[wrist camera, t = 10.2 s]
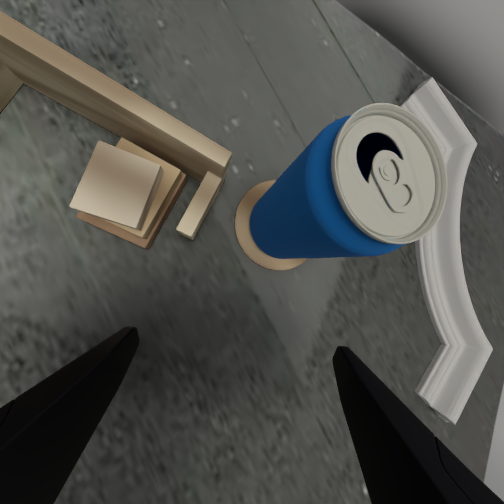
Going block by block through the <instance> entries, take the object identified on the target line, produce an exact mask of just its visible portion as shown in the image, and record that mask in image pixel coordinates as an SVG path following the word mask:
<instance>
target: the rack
mask: <svg viewBox="0 0 504 504" xmlns="http://www.w3.org/2000/svg"><path fill="white" fill-rule="evenodd" d="M23 83H24V84H26V85H27V86H29V87H31V88H33V89H35V90H36V91H38V92H40V93H42V94H44V95H45V96H47V97H49V98H51V99H53V100H54V101H56V102H58V103H60V104H62V105H63V106H65V107H67V108H69V109H70V110H72V111H74V112H76V113H78V114H79V115H81V116H83V117H85V118H87V119H88V120H90V121H92V122H94V123H96V124H97V125H99V126H101V127H103V128H105V129H106V130H108V131H110V132H112V133H114V134H115V135H117V136H119V137H121V138H124V139H126V140H128V141H130V142H131V143H133V144H135V145H137V146H138V147H140V148H142V149H144V150H146V151H147V152H149V153H151V154H153V155H155V156H156V157H158V158H160V159H162V160H164V161H165V162H167V163H169V164H171V165H173V166H174V167H176V168H178V169H180V170H181V171H182V172H184V173H185V174H187V175H189V176H191V177H193V178H194V179H196V180H198V181H200V182H202V183H201V185H200V186H199V188H198V190H197V192H196V194H195V196H194V197H193V199H192V201H191V203H190V205H189V207H188V208H187V210H186V212H185V214H184V216H183V217H182V219H181V221H180V223H179V225H178V227H177V228H176V230H177V231H178V232H179V234H180V235H182V236H184V237H186V238H188V239H190V240H192V241H193V240H194V238H195V236H196V234H197V232H198V231H199V229H200V227H201V225H202V223H203V221H204V219H205V217H206V215H207V213H208V212H209V210H210V208H211V206H212V204H213V202H214V200H215V198H216V196H217V194H218V193H219V191H220V189H221V187H222V185H223V183H224V181H225V177H226V173H227V170H228V166H229V162H230V159H231V155H232V153H231V152H230V151H228V150H226V149H225V148H223V147H222V146H220V145H218V144H217V143H215V142H213V141H212V140H210V139H208V138H207V137H205V136H204V135H202V134H200V133H199V132H197V131H195V130H194V129H192V128H191V127H189V126H187V125H186V124H184V123H182V122H181V121H179V120H177V119H176V118H174V117H173V116H171V115H169V114H168V113H166V112H164V111H163V110H161V109H159V108H158V107H156V106H155V105H153V104H151V103H150V102H148V101H146V100H145V99H143V98H141V97H140V96H138V95H137V94H135V93H133V92H132V91H130V90H128V89H127V88H125V87H123V86H122V85H120V84H119V83H117V82H115V81H114V80H112V79H110V78H109V77H107V76H105V75H104V74H102V73H101V72H99V71H97V70H96V69H94V68H92V67H91V66H89V65H87V64H86V63H84V62H83V61H81V60H79V59H78V58H76V57H74V56H73V55H71V54H69V53H68V52H66V51H65V50H63V49H61V48H60V47H58V46H56V45H55V44H53V43H51V42H50V41H48V40H47V39H45V38H43V37H42V36H40V35H38V34H37V33H35V32H33V31H32V30H30V29H29V28H27V27H25V26H24V25H22V24H20V23H19V22H17V21H16V20H14V19H12V18H11V17H9V16H7V15H6V14H4V13H2V12H1V11H0V112H1V111H2V110H3V109H4V107H5V106H6V105H7V104H8V102H9V101H10V100H11V98H12V97H13V96H14V95H15V93H16V92H17V91H18V90H19V88H20V87H21V86H22V84H23Z"/></svg>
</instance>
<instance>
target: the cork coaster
mask: <svg viewBox="0 0 504 504" xmlns="http://www.w3.org/2000/svg"><path fill="white" fill-rule="evenodd" d="M275 182H276V180H271V181H265V182H262V183H260V184H258V185H256V186H254V187H253V188H251V189H250V190H249V191H248V192H247V193H246V194H245V196H244V197H243V198H242V200H241V202H240V203H239V206H238V208H237V211H236V215H235V232H236V236H237V239H238V242H239V244H240V246H241V248H242V250H243V251H244V252H245V254H246V255H247V256H248V257H249V258H250V259H251V260H252V261H254V262H255V263H257V264H258V265H260V266H262V267H265V268H268V269H273V270H287V269H291V268H294V267H296V266H299V265H300V264H302V263H303V262H305V261H306V260H307V259H308V258H300V259H278V258H274V257H271V256H269V255H267V254H265V253H264V252H263V251H261V250H260V249H259V247H258V246H257V245H256V244H255V242H254V240H253V238H252V235H251V232H250V226H249V222H250V215H251V211H252V209H253V207H254V205H255V204H256V203H257V201H258V200H259V199H260V198H261V197H262V196H263V195H264V194H265V193H266V191H267V190H268V189H269V188H270V187H271V186H272V185H273V184H274V183H275Z"/></svg>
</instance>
